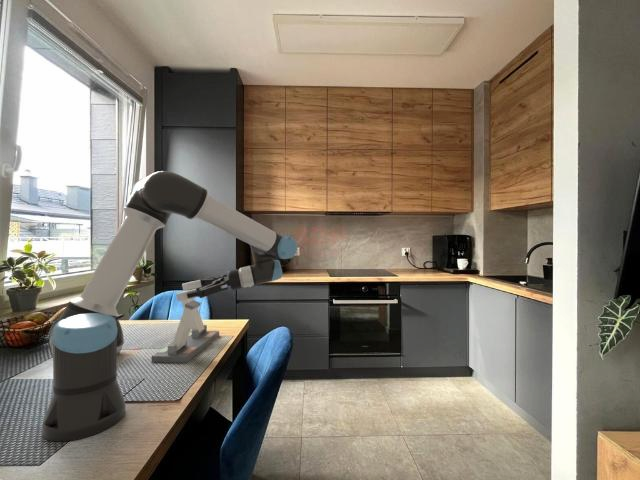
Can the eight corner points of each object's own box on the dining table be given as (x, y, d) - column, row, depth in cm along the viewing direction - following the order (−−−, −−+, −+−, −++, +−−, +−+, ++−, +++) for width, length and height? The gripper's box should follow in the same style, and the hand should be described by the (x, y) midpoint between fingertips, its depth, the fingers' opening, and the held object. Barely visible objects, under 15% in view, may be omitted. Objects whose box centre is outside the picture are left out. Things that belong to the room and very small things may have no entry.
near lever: (184, 347, 116) (200, 302, 116) (176, 353, 110) (193, 306, 109) (177, 344, 116) (193, 300, 116) (168, 350, 110) (185, 303, 110)
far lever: (206, 330, 134) (192, 291, 134) (200, 335, 128) (185, 294, 128) (200, 333, 134) (186, 294, 134) (193, 337, 128) (179, 296, 128)
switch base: (219, 335, 137) (219, 324, 137) (186, 362, 107) (186, 347, 107) (191, 335, 137) (191, 323, 137) (151, 362, 107) (151, 347, 107)
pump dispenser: (121, 358, 111) (121, 314, 111) (85, 362, 107) (85, 317, 107) (127, 348, 120) (127, 308, 120) (94, 352, 116) (94, 311, 116)
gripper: (244, 297, 107) (177, 313, 101) (241, 280, 130) (187, 292, 125) (239, 275, 105) (171, 291, 100) (237, 262, 129) (182, 274, 124)
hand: (179, 292), depth 113 cm, fingers open, 13 cm apart
